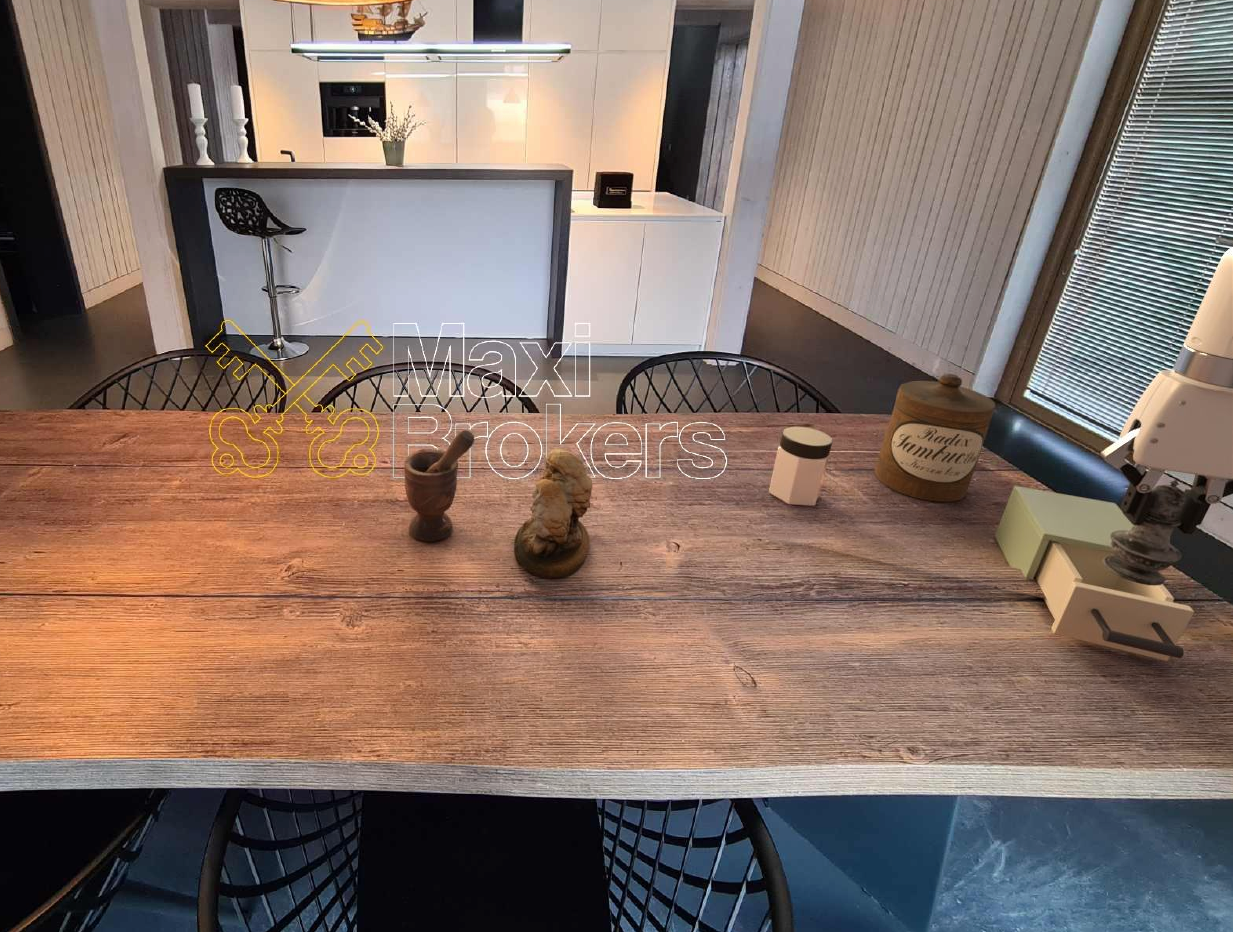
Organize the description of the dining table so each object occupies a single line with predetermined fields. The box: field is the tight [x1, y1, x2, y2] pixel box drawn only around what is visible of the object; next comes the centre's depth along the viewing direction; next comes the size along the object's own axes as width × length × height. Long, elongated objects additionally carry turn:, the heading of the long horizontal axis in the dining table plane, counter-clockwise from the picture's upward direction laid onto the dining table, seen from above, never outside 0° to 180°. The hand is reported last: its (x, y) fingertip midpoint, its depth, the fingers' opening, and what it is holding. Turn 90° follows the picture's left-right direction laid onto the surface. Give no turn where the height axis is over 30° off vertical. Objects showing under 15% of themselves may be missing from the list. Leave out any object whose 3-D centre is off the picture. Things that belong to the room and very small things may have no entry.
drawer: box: [1034, 540, 1195, 662], centre depth 88 cm, size 19×12×8 cm, turn 156°
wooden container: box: [874, 373, 996, 503], centre depth 123 cm, size 15×15×22 cm
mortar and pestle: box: [403, 429, 475, 542], centre depth 107 cm, size 12×9×20 cm
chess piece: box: [1103, 479, 1187, 586], centre depth 74 cm, size 6×6×12 cm
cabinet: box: [994, 485, 1134, 581], centre depth 100 cm, size 15×13×10 cm
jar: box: [768, 426, 833, 507], centre depth 120 cm, size 9×8×12 cm
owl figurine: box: [513, 448, 593, 580], centre depth 104 cm, size 18×12×17 cm, turn 167°
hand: (1156, 521), depth 74 cm, fingers closed on chess piece, 3 cm apart
